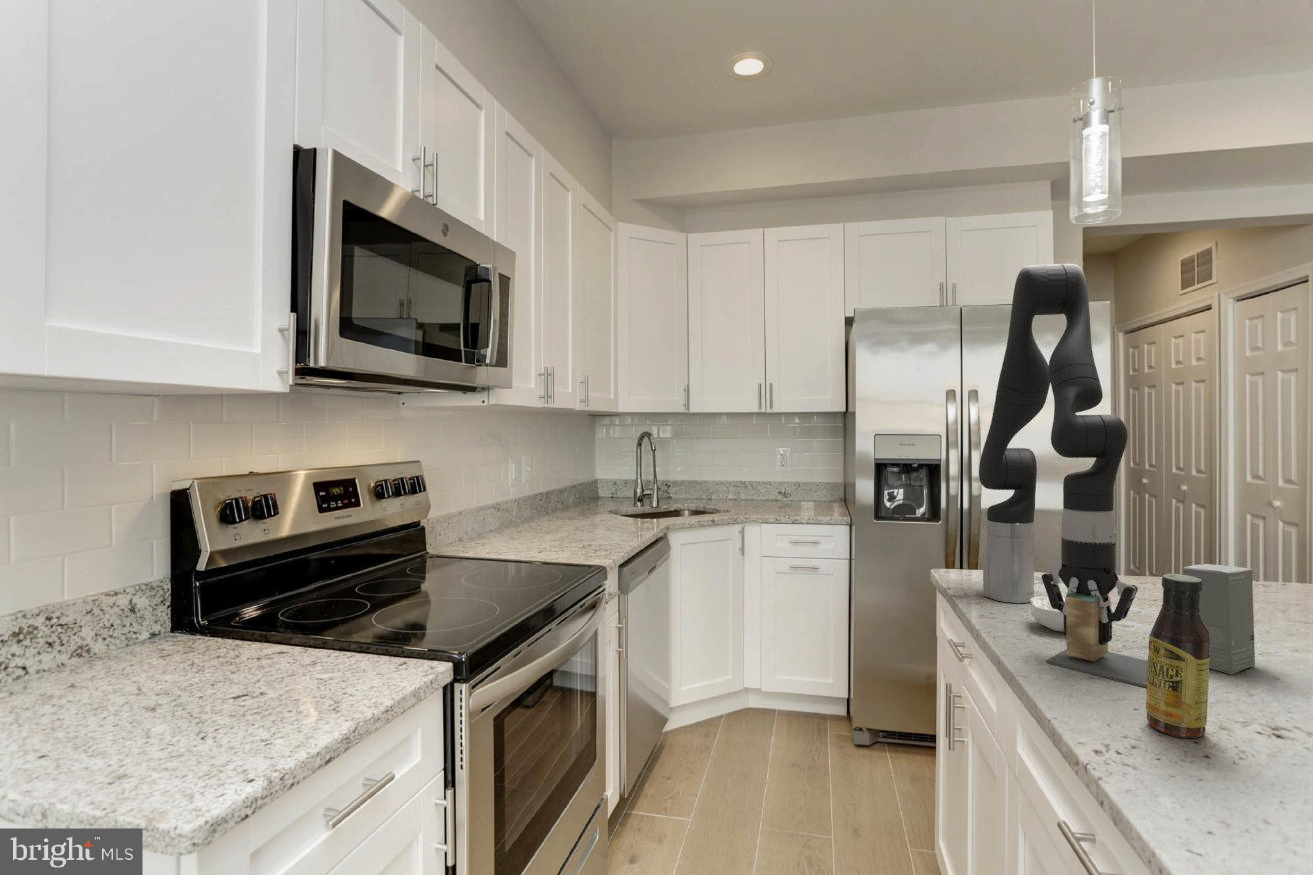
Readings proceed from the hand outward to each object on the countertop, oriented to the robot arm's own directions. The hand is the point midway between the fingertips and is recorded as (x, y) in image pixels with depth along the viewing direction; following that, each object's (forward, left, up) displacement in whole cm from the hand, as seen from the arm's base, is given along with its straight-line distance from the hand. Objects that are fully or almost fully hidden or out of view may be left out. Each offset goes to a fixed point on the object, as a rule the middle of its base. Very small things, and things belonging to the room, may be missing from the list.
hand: (1087, 639), depth 113 cm
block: (0, 0, -2) cm, 2 cm away
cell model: (-10, +15, -4) cm, 18 cm away
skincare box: (+14, +14, -4) cm, 20 cm away
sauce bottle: (+17, -19, -4) cm, 26 cm away
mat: (+4, 0, -3) cm, 5 cm away
